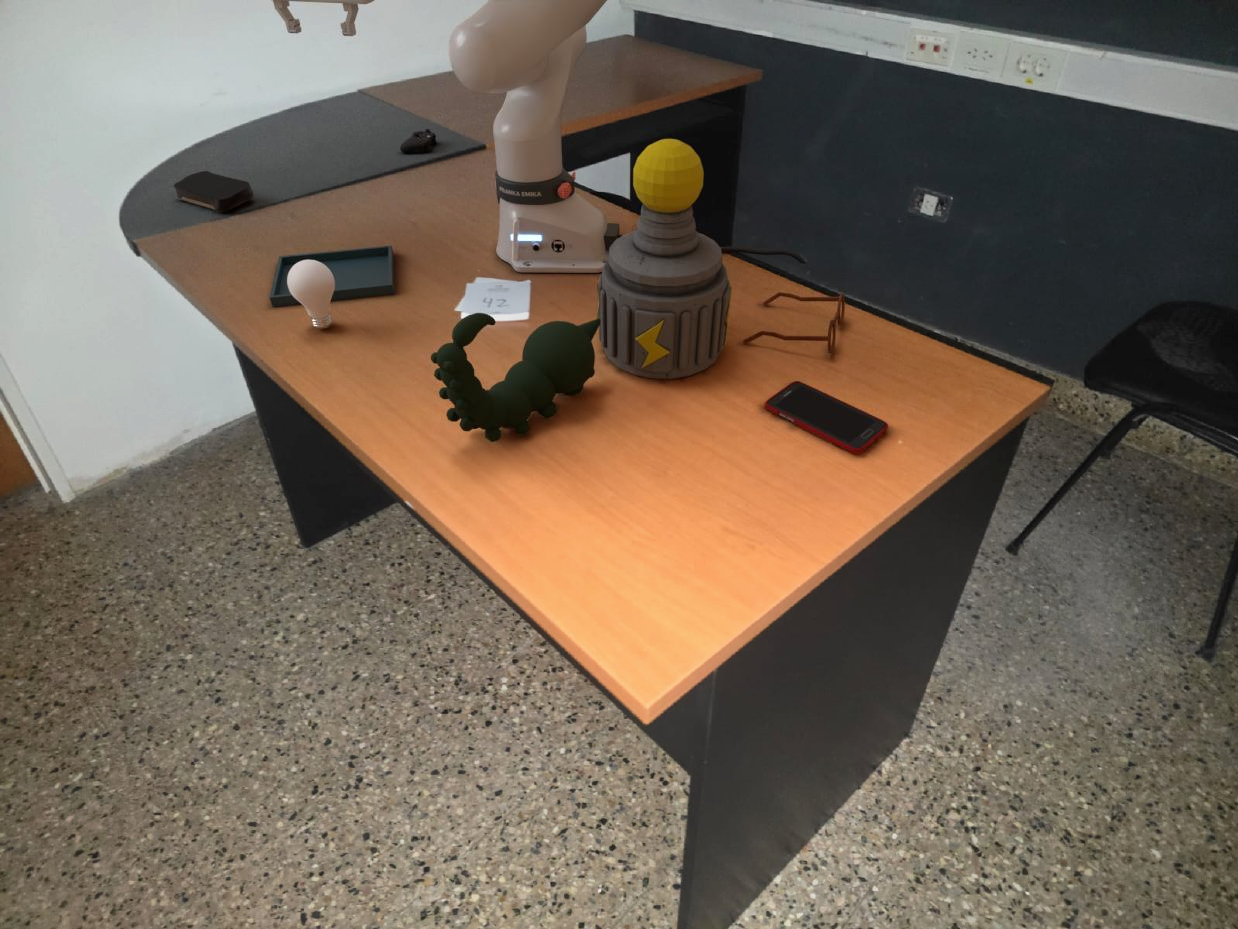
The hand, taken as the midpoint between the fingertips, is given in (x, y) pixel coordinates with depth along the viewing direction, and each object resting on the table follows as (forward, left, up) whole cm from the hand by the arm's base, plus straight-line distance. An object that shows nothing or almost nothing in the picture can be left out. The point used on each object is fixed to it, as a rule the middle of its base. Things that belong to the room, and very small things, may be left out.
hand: (322, 33), depth 124 cm
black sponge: (+38, -10, -34) cm, 52 cm away
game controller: (+10, -48, -34) cm, 60 cm away
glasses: (-79, +17, -34) cm, 88 cm away
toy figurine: (-46, +45, -34) cm, 73 cm away
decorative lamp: (-60, +26, -34) cm, 74 cm away
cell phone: (-84, +39, -34) cm, 99 cm away
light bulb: (-8, +31, -34) cm, 47 cm away
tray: (-2, +16, -34) cm, 38 cm away
